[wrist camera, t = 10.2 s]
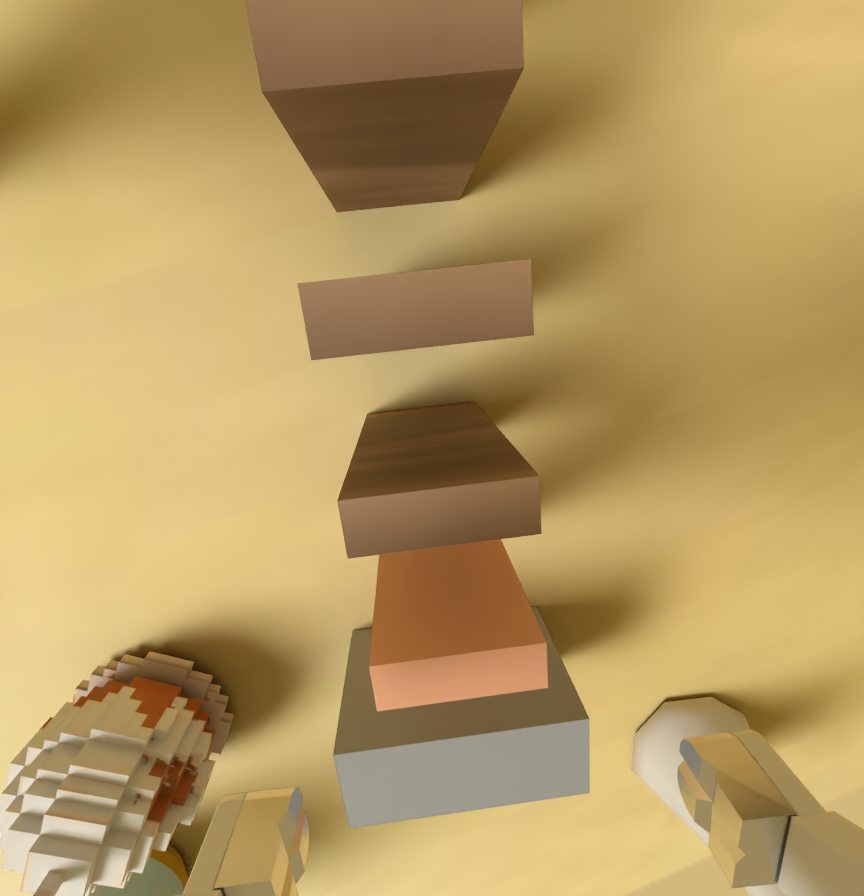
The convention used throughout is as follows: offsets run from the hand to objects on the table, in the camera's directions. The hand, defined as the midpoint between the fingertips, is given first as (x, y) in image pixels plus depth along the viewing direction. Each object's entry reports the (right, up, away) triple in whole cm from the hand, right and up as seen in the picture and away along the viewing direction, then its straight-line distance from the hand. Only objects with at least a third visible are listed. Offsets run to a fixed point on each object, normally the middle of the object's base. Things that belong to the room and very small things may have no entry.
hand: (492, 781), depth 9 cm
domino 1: (-3, +18, +8) cm, 20 cm away
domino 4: (-1, +3, +13) cm, 13 cm away
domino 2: (-2, +13, +10) cm, 16 cm away
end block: (0, -4, +15) cm, 15 cm away
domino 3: (-2, +8, +11) cm, 14 cm away
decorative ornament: (-16, -7, +15) cm, 23 cm away
